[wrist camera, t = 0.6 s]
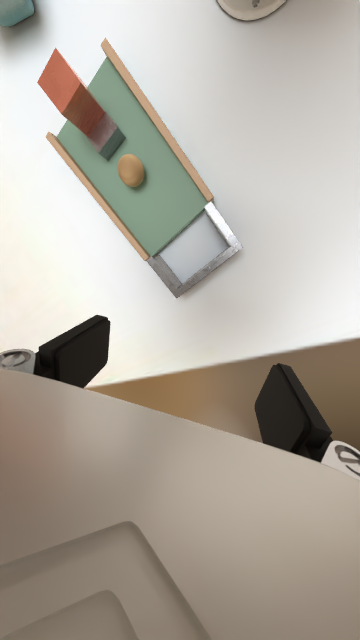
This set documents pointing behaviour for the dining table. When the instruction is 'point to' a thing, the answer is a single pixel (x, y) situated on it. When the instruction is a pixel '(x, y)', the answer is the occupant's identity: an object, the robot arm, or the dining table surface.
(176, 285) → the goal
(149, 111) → the pitch
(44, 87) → the silver-capped pink block
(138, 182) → the ball
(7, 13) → the flower pot
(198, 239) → the dining table surface
